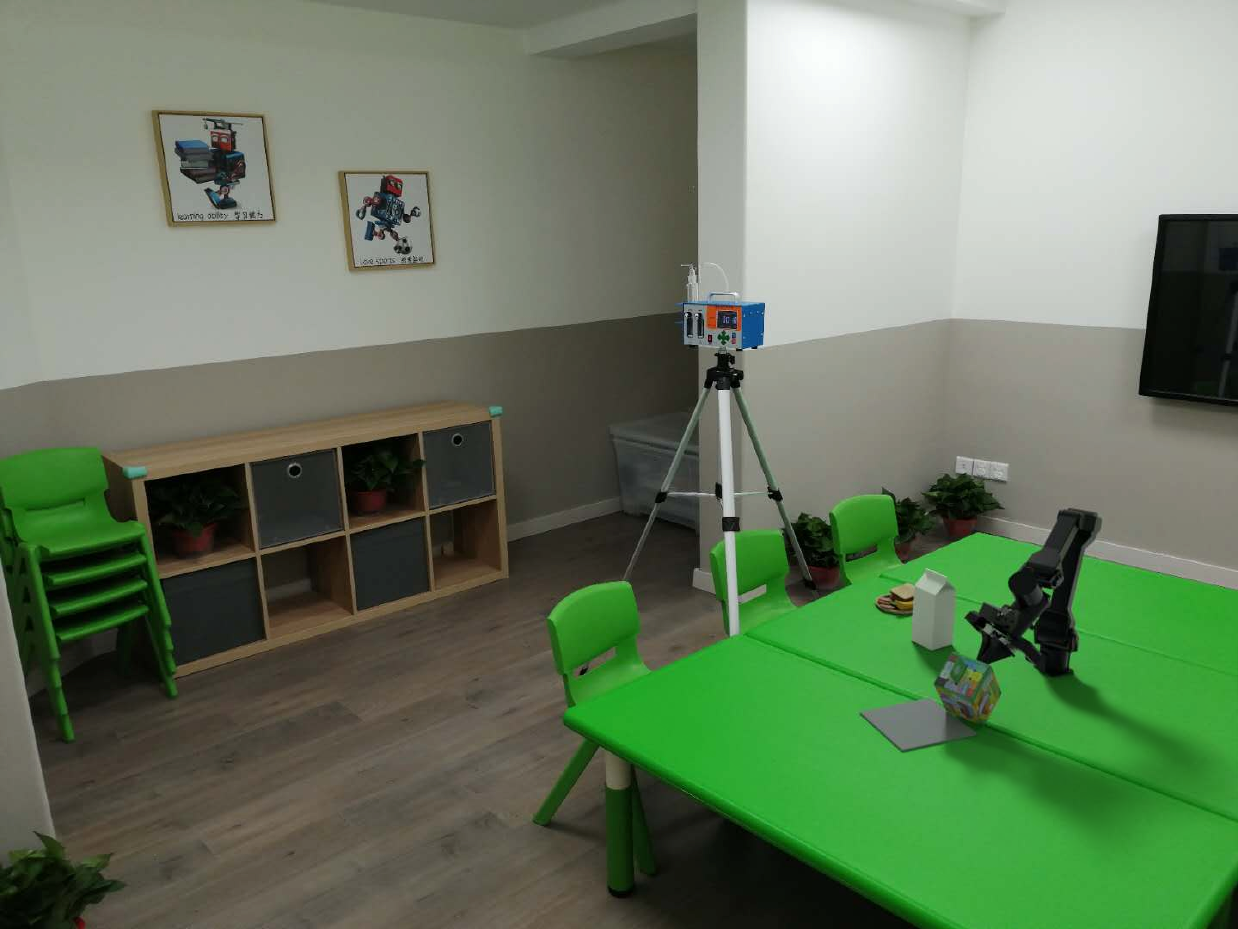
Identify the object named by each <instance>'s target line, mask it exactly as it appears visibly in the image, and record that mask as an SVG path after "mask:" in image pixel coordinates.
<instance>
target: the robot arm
mask: <svg viewBox="0 0 1238 929" xmlns="http://www.w3.org/2000/svg"><path fill="white" fill-rule="evenodd" d="M1102 524H1103V518H1101V517H1100V516H1099V514H1098V512H1096V511H1091V510H1085V509H1078V508H1074V507H1068V508H1067V509H1058V513H1057V516H1056V522H1055V524H1054V526H1053V527H1052V529H1051V531H1050V533H1049V535H1048V537H1047V538H1046V540H1045V542H1044V544H1043V545H1042V548H1041V549H1040V550H1038V551H1036V552H1033V553H1031V555H1030V556H1029V558H1028V559H1026V562H1024V563H1023V564H1022V565H1021V566H1020V568H1019V569H1018V570H1017V571H1015V572H1014V573H1013V574H1011V575H1010V576H1009V578H1008V579H1007V586H1008V589H1009V591H1010V592H1011V594H1012V596H1013V598H1014V600H1013V602H1012V603H1011V604H1010V605H1008V604H1007V603H1006V604H1003V605H1001V607H999V606H996V605H993V604H991V603H988V602H986V601H983V602H982V604H981V606H980V609H979V610H978V611H977V610H969V611H968V613H967V614H966V615H965V616H964V619H965V621H967V623H969V624H970V625H971V627H972V628H973V629H975V631H977V633H979V634H981V644H980V648H979V650H978V653H977V656H976V658H975V660H977V661H981V662H984V663H986V664H988V665H991V664H993V663H995V662H998V661H1002V660H1004V659H1005V660H1006V659H1008V658H1010V657H1012V658H1015V657H1016V655H1015V654H1016V652H1017V651H1019V652H1020V653H1022V654H1023V655H1024V660H1025V661H1027V662H1028V663H1029V664H1031V665H1032V666H1033V667H1035V668H1036V669H1038V670H1039V671H1041V672H1043V673H1044V674H1046V675H1048V676H1050V677H1059V676H1063V675H1064V676H1065V675H1068V674H1070V675H1071V674H1073V673H1074V672H1075V670H1074V669H1072V668H1071V667H1070V661H1071V654H1073V653H1077V652H1079V644H1080V642H1079V641H1080V637H1079V635H1078V632H1077V629H1076V623H1077V622H1076V620H1075V616H1074V613H1073V611H1072V606H1073V602H1074V599H1075V595H1076V594H1075V593H1076V590H1077V586H1078V582H1079V577H1080V573H1081V567H1082V564H1083V561H1084V556H1085V552H1086V549H1087V548H1088V547H1090V546H1091V545H1092V544H1093V543H1094V542H1095V540H1096V538H1097V535H1098V533H1100V531H1101V528H1102ZM1043 589H1047V590H1052V593H1051V595H1050V594H1049V593H1047V592H1046V591H1044V590H1043ZM1028 630H1030V631H1032V632H1033V643H1032V642H1031V641H1030V640H1028V639H1026V638H1024V637H1023V636H1024V634H1026V632H1027V631H1028ZM1034 644H1035V645H1034ZM1036 645H1039V649H1038V648H1037V647H1036Z"/></svg>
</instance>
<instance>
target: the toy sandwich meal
mask: <svg viewBox="0 0 1238 929" xmlns="http://www.w3.org/2000/svg"><path fill="white" fill-rule="evenodd" d="M915 585H916V584H912V583H908V582H905V583H904V584H901V585H899V586H895V587H892V588H890V589H889V593H887V594H881V595H879V596H877V597H876V598H875V604H876V606H877V607H878V608H879V609H881V610H882V611H884V612H887V613H890V614H896V615H911V614H913V604H914V587H915Z"/></svg>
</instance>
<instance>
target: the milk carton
mask: <svg viewBox="0 0 1238 929" xmlns="http://www.w3.org/2000/svg"><path fill="white" fill-rule="evenodd" d="M914 585H915V587H914V604H913V613H912V622H911V639H910V640H911V641H912V642H914V643H916V644H918V645H920V646H921V647H924V648H925V649H927V650H929V651H932V652H933V651H935V650H938V649H941V648H945V647H948V646H951V645H953V643H954V642H953V641H954V640H953V639H954V630H955V628H954V627H955V626H954V625H955V616H956V613H955V612H956V602H957V599H956V598H957V589H956V588H955V587H954V586H953V585H952V584H951V583H950V582H949V581H948V576H945V575H943V574H941V573H939V572H936V571H934V570H931V569H929V568H925V572H924V573H923V574H922V576H921V577H920V578H919V580H918V581H917V582H916V584H914Z"/></svg>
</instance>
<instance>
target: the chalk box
mask: <svg viewBox="0 0 1238 929" xmlns="http://www.w3.org/2000/svg"><path fill="white" fill-rule="evenodd" d="M999 685H1000V684H999V683H998V681H997V678H996V675H995V671H994V669H993V666H992V665H991V664H989V665H988V664H986V663H984V662H981V661H977V660H976V658H973V657H969V656H966V655H964V654H962V653H959V652H956V651H952V652H950V655H949V656H948V657H947V659H946V661H945V662H944V665H943V666H942V668H941V669H940V671H939V672H938V675H937V676H936V679H935V680H934V682H933V686H934V688H935V690H936V692H937V694H938V696H939V698H940V700H941V702H942V704H943V708H944V709H945V710H946V711H948V712H950V713H951V714H952V715H955V716H958V717H960V718H962V719H964V720H965V721H966V720H967V721H969V722H971V723H974V724H976V725H978V726H981V727H985V725H986V723H987V721H988V720H989V718H990V716H991V714H992V712H993V710H994V708H995V706H996V705H997V702H998V700H999V699H1000V697H1001V695H1002V691H1001V689H1000V686H999Z"/></svg>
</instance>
